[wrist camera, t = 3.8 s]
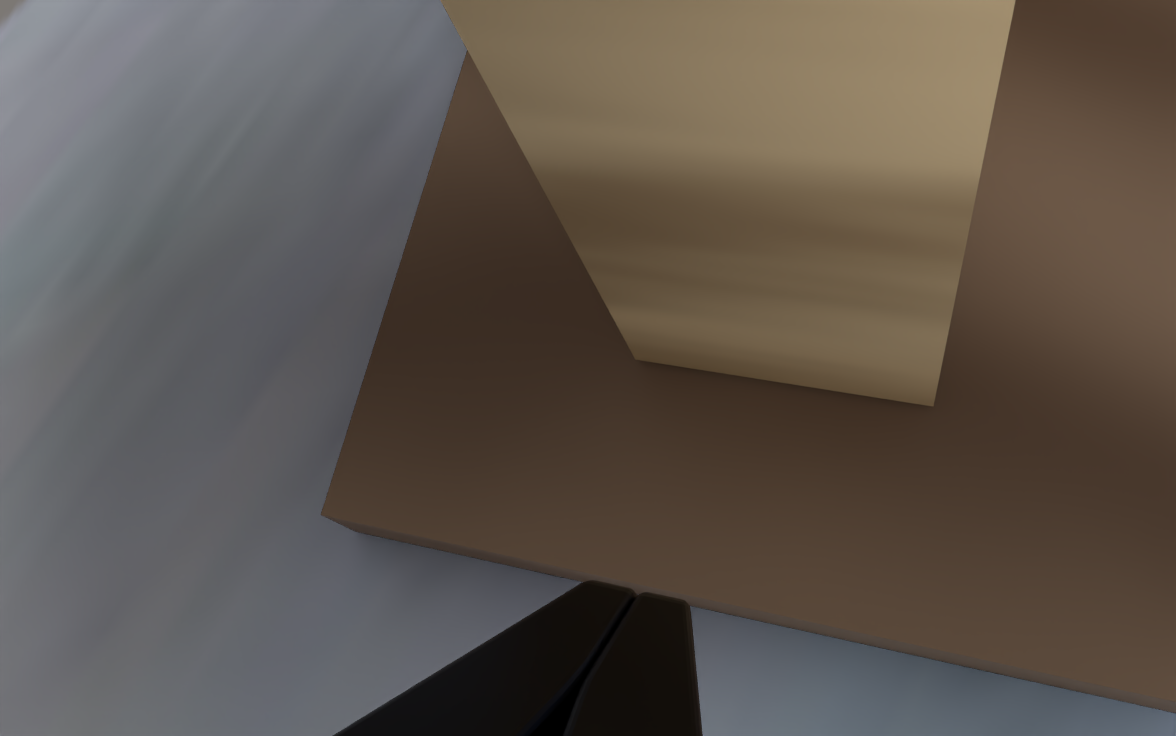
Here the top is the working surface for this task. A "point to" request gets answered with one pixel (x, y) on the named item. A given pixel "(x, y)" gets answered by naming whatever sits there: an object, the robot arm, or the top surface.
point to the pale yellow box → (759, 170)
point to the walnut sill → (826, 401)
